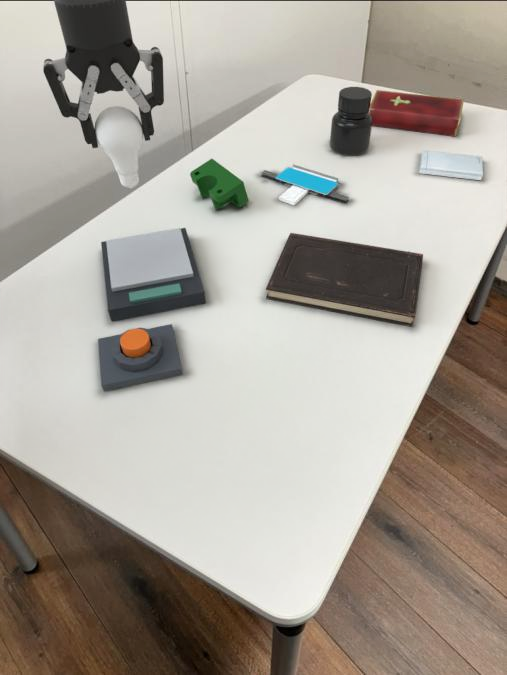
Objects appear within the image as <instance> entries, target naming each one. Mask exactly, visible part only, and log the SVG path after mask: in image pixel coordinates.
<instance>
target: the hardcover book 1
mask: <svg viewBox="0 0 507 675" xmlns="http://www.w3.org/2000/svg"><path fill="white" fill-rule="evenodd" d="M423 261H424V253H418V252H412V251H407V250H400V249H394V248H388V247H383V246H381V247H380V246H375V245H370V244H369V245H368V244H363V243H357V242H352V241H351V242H350V241H344V240H339V239H333V238H327V237H321V236H320V237H319V236H313V235H306V234H302V233H295V232H290V233H289V235H288V237H287V239H286V242H285V244H284V246H283V249H282V251H281V253H280V255H279V257H278V260H277V262H276V265H275V267H274V269H273V270H272V273H271V276H270V279H269V281H268V283H267V285H266V288H265V291H268V292H267V294H266V296H265V299H266V300H272V301H275V302H276V301H277V302H282V303H287V304H293V305H296V306H297V305H298V306H302V307H308V308H313V309H318V310H324V311H328V312H334V313H339V314H344V315H350V316H353V317H358V318H365V319H370V320H375V321H380V322H386V323H391V324H396V325H402V326H406V327H411V328H413V326H414V319H415V318H416V312H417V304H418V298H419V290H420V282H421V274H422V267H423Z"/></svg>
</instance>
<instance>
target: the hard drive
mask: <svg viewBox="0 0 507 675" xmlns="http://www.w3.org/2000/svg"><path fill="white" fill-rule="evenodd" d="M419 163H420V164H419V171H418V172H419V174H422V175H433V176H440V177H448V178H449V177H450V178H458V179H466V180H475V181H482V179H483V176H484V167H483V166H484V164H483V156H482V155H473V154H466V153H465V154H464V153H458V152H457V153H455V152H446V151H439V150H438V151H437V150H426V149H423V150H422V151H421V157H420V162H419Z"/></svg>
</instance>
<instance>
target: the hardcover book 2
mask: <svg viewBox="0 0 507 675" xmlns="http://www.w3.org/2000/svg"><path fill="white" fill-rule="evenodd" d="M464 101H465V99H462V98H455V97H454V98H453V97H445V96H437V95H425V94H417V93H409V92H408V93H407V92H399V91H391V90H390V91H389V90H381V89H376V90H375V93H374V95H373V98H372V99H371V104H370V108H369V112H368V113H369V114H370V116H371V117H372V121H373V122H372V127H376V128H383V129H393V130H401V131H407V132H408V131H409V132H416V133H424V134H433V135H439V136H440V135H441V136H449V137H457V135H458V131H459V129H460V125H461V120H462V116H463V115H462V114H463V108H464Z"/></svg>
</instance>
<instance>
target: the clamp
mask: <svg viewBox="0 0 507 675" xmlns="http://www.w3.org/2000/svg"><path fill="white" fill-rule="evenodd" d="M189 177H190V178H191V181H192V183H193V184H195V186H196V187H197V189H198V192H199V195H200V198H201V200H204V199H206V198H207V197H210V200H211V202H212V205H213V208H214V210H215V211H218V210H220V209H221V208H223V207H224V206H226V205H227V204H228V203H230V202H231V203H232V204H233V205H235V206H236V207H237V208H241V207H243V206H244V205H246V204H248V203H249V196H248V193H247V190H246V186H245V182H244V181H243V180H242V179H241V178H239V177H237V176H236V175H235V174H233V173H232V172H231V170H229V169H227V168H226V167H224V166H223V165H222V164H221V163H219V162H218V161H216V160H215V159H214V158H210V159H209V160H207V161H205V162H204V163H202V164H200V165H199V166H198V167H196V168H195V169H193V170H192V171H191V172H190V174H189Z"/></svg>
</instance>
